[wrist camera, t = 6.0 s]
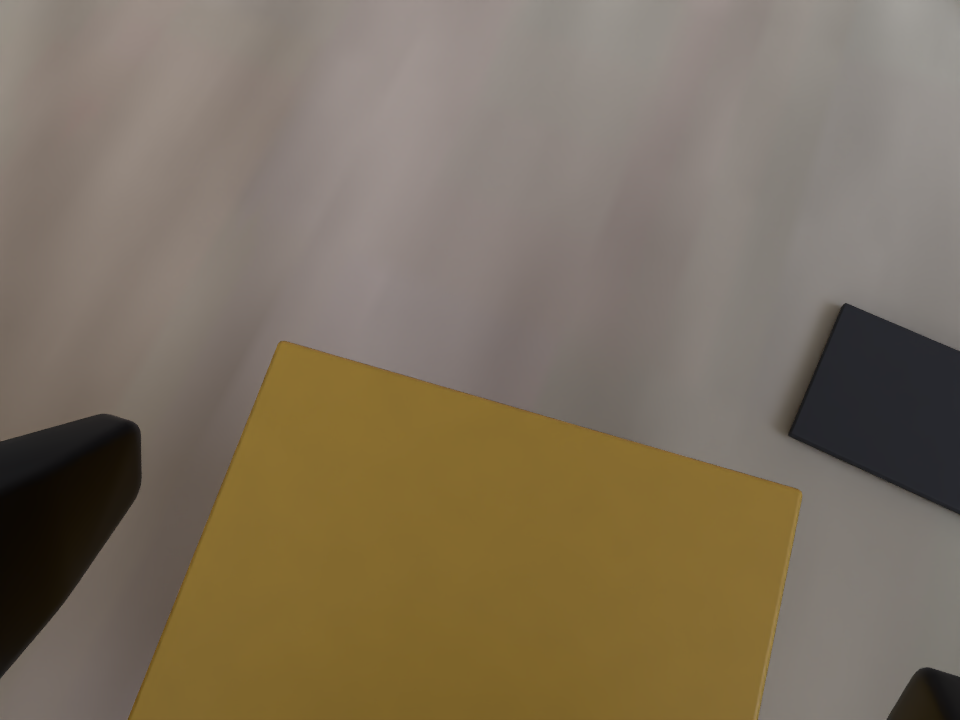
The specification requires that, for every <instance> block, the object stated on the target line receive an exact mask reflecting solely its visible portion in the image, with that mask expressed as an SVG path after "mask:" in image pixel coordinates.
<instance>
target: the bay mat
mask: <svg viewBox="0 0 960 720" xmlns="http://www.w3.org/2000/svg"><path fill="white" fill-rule="evenodd" d="M789 436H791V437H793V438H795V439H797V440H799V441H802V442H804V443H806V444H808V445H810V446H812V447H815V448H817V449H819V450H821V451H823V452H825V453H828V454H830V455H832V456H834V457H836V458H838V459H841V460H843V461H845V462H847V463H849V464H852V465H854V466H856V467H858V468H860V469H862V470H865V471H867V472H869V473H871V474H873V475H875V476H878V477H880V478H882V479H884V480H886V481H889V482H891V483H893V484H895V485H897V486H899V487H902V488H904V489H906V490H908V491H910V492H912V493H915V494H917V495H919V496H921V497H923V498H926V499H928V500H930V501H932V502H934V503H936V504H939V505H941V506H943V507H945V508H947V509H949V510H952V511H954V512H956V513H958V514H960V351H957V350H955V349H953V348H950V347H948V346H946V345H943V344H941V343H939V342H936V341H934V340H932V339H929V338H927V337H924V336H922V335H920V334H917V333H915V332H913V331H910V330H908V329H906V328H903V327H901V326H899V325H896V324H894V323H892V322H889V321H887V320H884V319H882V318H880V317H877V316H875V315H873V314H870V313H868V312H866V311H863V310H861V309H859V308H856V307H854V306H852V305H849V304H847V303H845V304H844V305H843V306H842V307H841V310H840V312H839V315H838V317H837V319H836V322H835V324H834V327H833V329H832V331H831V334H830V336H829V339H828V341H827V343H826V346H825V348H824V351H823V353H822V355H821V358H820V360H819V362H818V365H817V367H816V370H815V372H814V374H813V377H812V379H811V382H810V384H809V386H808V389H807V391H806V394H805V396H804V398H803V401H802V403H801V406H800V408H799V410H798V413H797V415H796V418H795V420H794V422H793V425H792V427H791V430H790V432H789Z"/></svg>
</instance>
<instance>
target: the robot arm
mask: <svg viewBox="0 0 960 720" xmlns="http://www.w3.org/2000/svg"><path fill="white" fill-rule="evenodd" d="M141 479H142V472H141V433H140V429H139V427H138V425H137V424H135V423H134V422H133V421H130V420H126V419H123V418H120V417H117V416H113V415H110V414H98V415H95V416H91V417H88V418H84V419H80V420H77V421H73V422H70V423H66V424H62V425H59V426H55V427H51V428H48V429H44V430H41V431H37V432H33V433H30V434H26V435H23V436H19V437H15V438H12V439H8V440H5V441H1V442H0V678H1V677H2V676H3V675H4V674H5V672H6V671H7V670H8V669H9V668H10V667H11V665H12V664H13V663H14V662H15V661H16V660H17V658H18V657H19V656H20V655H21V654H22V652H23V651H24V650H25V649H26V648H27V647H28V645H29V644H30V643H31V642H32V641H33V640H34V638H35V637H36V636H37V635H38V634H39V633H40V631H41V630H42V629H43V628H44V627H45V625H46V624H47V623H48V622H49V621H50V619H51V618H52V617H53V616H54V615H55V613H56V612H57V611H58V610H59V608H60V607H61V606H62V605H63V603H64V602H65V601H66V599H67V598H68V596H69V595H70V594H71V592H72V591H73V590H74V588H75V587H76V585H77V584H78V582H79V581H80V580H81V578H82V577H83V575H84V574H85V572H86V571H87V569H88V568H89V566H90V565H91V563H92V562H93V561H94V559H95V558H96V556H97V555H98V553H99V552H100V550H101V549H102V547H103V546H104V544H105V543H106V542H107V540H108V539H109V537H110V536H111V534H112V533H113V531H114V530H115V528H116V527H117V526H118V524H119V523H120V521H121V520H122V518H123V517H124V515H125V514H126V512H127V511H128V509H129V508H130V507H131V505H132V504H133V502H134V500H135V499H136V497H137V495H138V492H139V489H140V486H141ZM887 720H960V677H958V676H955V675H952V674H949V673H945V672H942V671H939V670H936V669H932V668H928V667H927V668H921V669H919V670H918V671H917V672H916V673H915V674H914V675H913V676H912V678H911V680H910V681H909V683H908V685H907V686H906V688H905V690H904V691H903V693H902V695H901V696H900V698H899V699H898V701H897V703H896V704H895V706H894V708H893V709H892V711H891V713H890V714H889V716H888V718H887Z"/></svg>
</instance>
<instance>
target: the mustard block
mask: <svg viewBox="0 0 960 720" xmlns="http://www.w3.org/2000/svg"><path fill="white" fill-rule="evenodd" d="M801 501H802V492H801V491H800V490H798V489H796V488H793V487H789V486H786V485H782V484H779V483H775V482H772V481H768V480H765V479H762V478H758V477H755V476H751V475H748V474H744V473H741V472H737V471H734V470H730V469H727V468H723V467H720V466H717V465H713V464H710V463H706V462H703V461H699V460H696V459H692V458H689V457H685V456H682V455H678V454H675V453H671V452H668V451H665V450H661V449H658V448H654V447H651V446H647V445H644V444H640V443H637V442H633V441H630V440H626V439H623V438H619V437H616V436H613V435H609V434H606V433H602V432H599V431H595V430H592V429H588V428H585V427H581V426H578V425H574V424H571V423H568V422H564V421H561V420H557V419H554V418H550V417H547V416H543V415H540V414H536V413H533V412H529V411H526V410H522V409H519V408H516V407H512V406H509V405H505V404H502V403H498V402H495V401H491V400H488V399H484V398H481V397H477V396H474V395H470V394H467V393H464V392H460V391H457V390H453V389H450V388H446V387H443V386H439V385H436V384H432V383H429V382H425V381H422V380H419V379H415V378H412V377H408V376H405V375H401V374H398V373H394V372H391V371H387V370H384V369H380V368H377V367H373V366H370V365H367V364H363V363H360V362H356V361H353V360H349V359H346V358H342V357H339V356H335V355H332V354H328V353H325V352H321V351H318V350H315V349H311V348H308V347H304V346H301V345H297V344H294V343H290V342H287V341H280V342H279V343H278V345H277V348H276V350H275V353H274V355H273V358H272V360H271V363H270V365H269V368H268V370H267V373H266V375H265V378H264V380H263V383H262V385H261V388H260V390H259V393H258V395H257V398H256V400H255V403H254V405H253V408H252V410H251V413H250V415H249V418H248V420H247V423H246V425H245V428H244V430H243V433H242V435H241V438H240V440H239V443H238V445H237V448H236V450H235V453H234V455H233V458H232V460H231V463H230V465H229V468H228V470H227V473H226V475H225V478H224V480H223V483H222V485H221V488H220V490H219V493H218V495H217V498H216V500H215V503H214V505H213V508H212V510H211V513H210V515H209V518H208V520H207V523H206V525H205V528H204V530H203V533H202V535H201V538H200V540H199V543H198V545H197V548H196V550H195V553H194V555H193V558H192V560H191V563H190V565H189V568H188V570H187V573H186V575H185V578H184V580H183V583H182V585H181V588H180V590H179V593H178V595H177V598H176V600H175V603H174V605H173V608H172V610H171V613H170V615H169V618H168V620H167V623H166V625H165V628H164V630H163V633H162V635H161V638H160V640H159V643H158V645H157V648H156V650H155V653H154V655H153V658H152V660H151V663H150V665H149V668H148V670H147V673H146V675H145V678H144V680H143V683H142V685H141V687H140V690H139V692H138V695H137V697H136V700H135V702H134V705H133V707H132V710H131V712H130V715H129V717H128V720H758V716H759V711H760V706H761V701H762V696H763V691H764V686H765V681H766V676H767V671H768V666H769V661H770V656H771V651H772V646H773V641H774V636H775V631H776V626H777V621H778V616H779V611H780V606H781V601H782V596H783V591H784V586H785V581H786V576H787V571H788V566H789V561H790V556H791V551H792V546H793V541H794V536H795V531H796V526H797V521H798V516H799V511H800V506H801Z"/></svg>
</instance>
